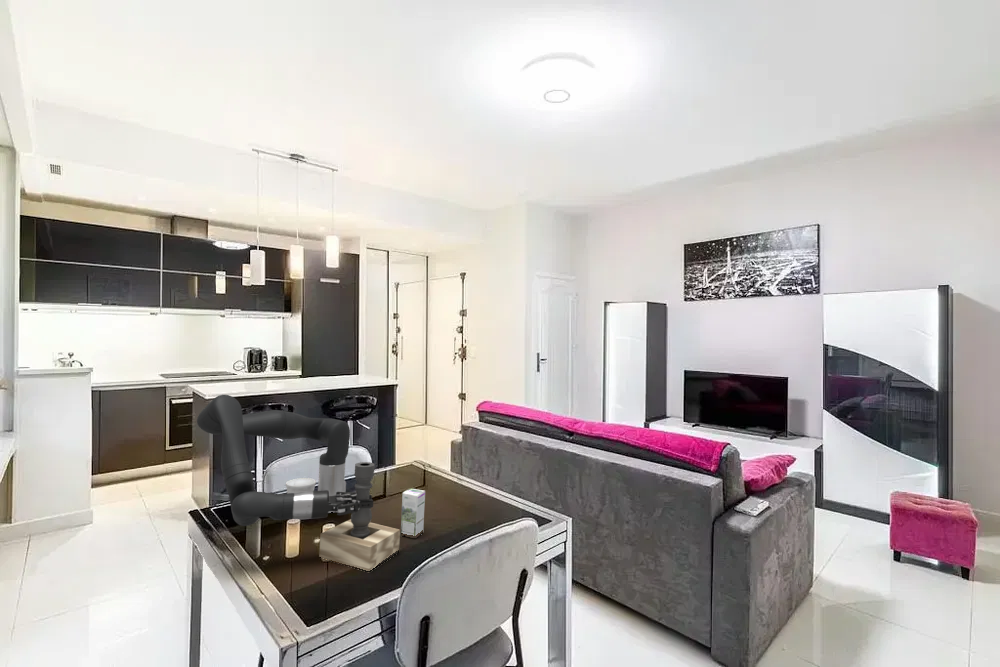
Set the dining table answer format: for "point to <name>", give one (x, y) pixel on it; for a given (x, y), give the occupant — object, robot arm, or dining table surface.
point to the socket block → (359, 545)
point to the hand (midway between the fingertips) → (371, 500)
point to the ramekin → (300, 485)
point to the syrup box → (412, 511)
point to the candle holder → (363, 485)
